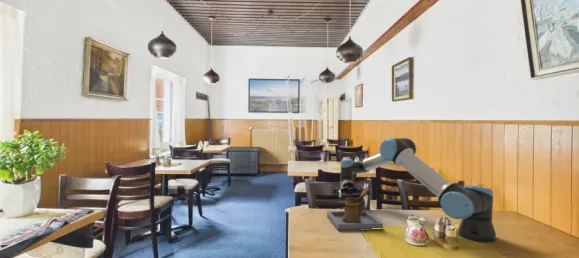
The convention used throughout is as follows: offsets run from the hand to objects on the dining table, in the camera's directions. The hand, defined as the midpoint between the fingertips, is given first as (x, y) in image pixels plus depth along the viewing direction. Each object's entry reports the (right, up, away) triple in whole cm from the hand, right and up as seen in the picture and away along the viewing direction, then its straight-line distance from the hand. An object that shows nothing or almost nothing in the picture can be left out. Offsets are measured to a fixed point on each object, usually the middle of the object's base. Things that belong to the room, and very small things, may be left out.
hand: (353, 195), depth 173 cm
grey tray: (-2, -12, -8) cm, 15 cm away
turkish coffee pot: (0, -12, -8) cm, 14 cm away
